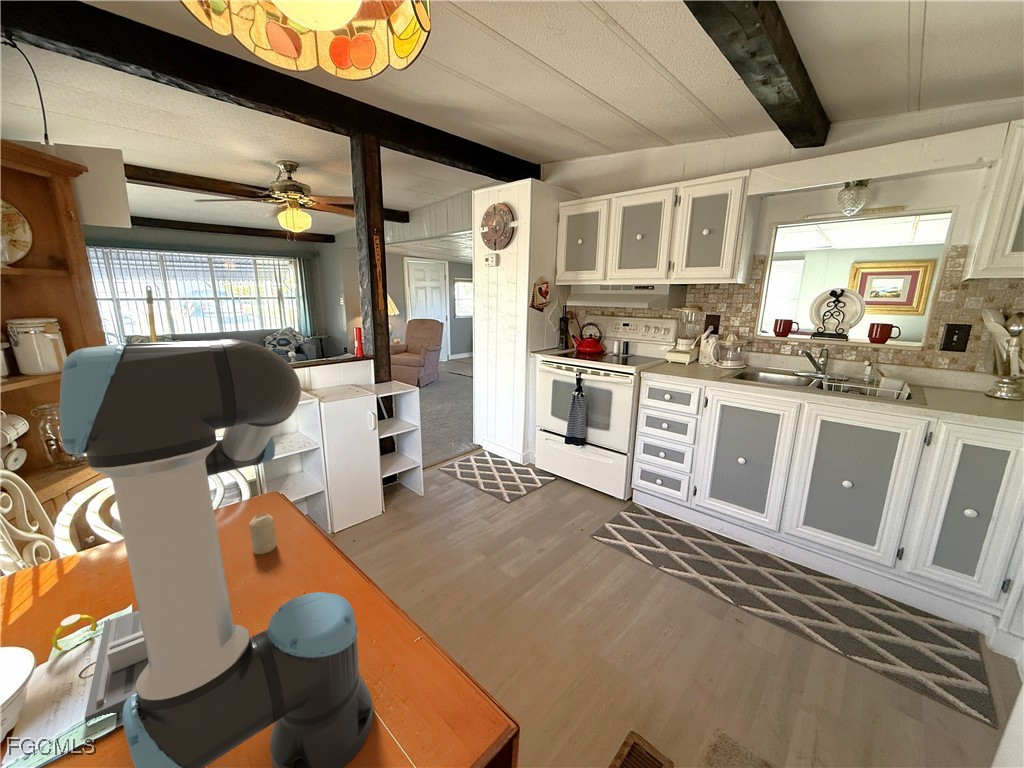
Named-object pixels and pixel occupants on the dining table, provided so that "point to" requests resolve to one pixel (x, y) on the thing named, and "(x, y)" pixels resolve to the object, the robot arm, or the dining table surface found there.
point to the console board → (121, 684)
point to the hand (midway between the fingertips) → (184, 586)
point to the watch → (71, 622)
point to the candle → (262, 533)
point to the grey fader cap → (126, 651)
